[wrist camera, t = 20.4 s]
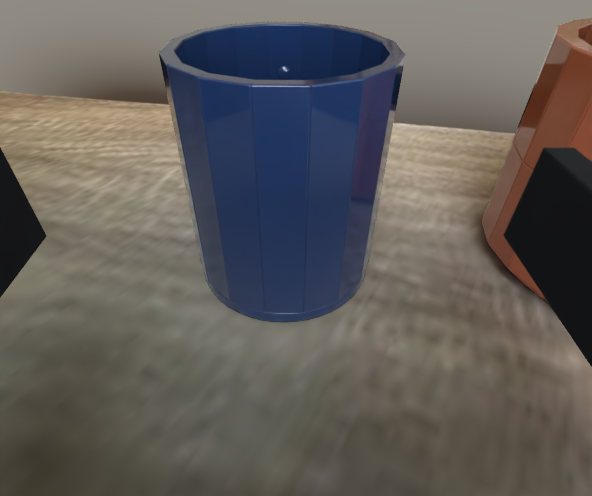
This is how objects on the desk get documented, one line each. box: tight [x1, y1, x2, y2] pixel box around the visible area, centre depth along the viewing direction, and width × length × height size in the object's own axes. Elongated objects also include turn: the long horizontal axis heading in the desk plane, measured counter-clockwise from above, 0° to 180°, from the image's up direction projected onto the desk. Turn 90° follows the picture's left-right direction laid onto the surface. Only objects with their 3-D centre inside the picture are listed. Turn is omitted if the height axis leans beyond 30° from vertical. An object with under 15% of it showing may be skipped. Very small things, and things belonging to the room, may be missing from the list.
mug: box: [159, 22, 405, 322], centre depth 18 cm, size 12×8×10 cm
